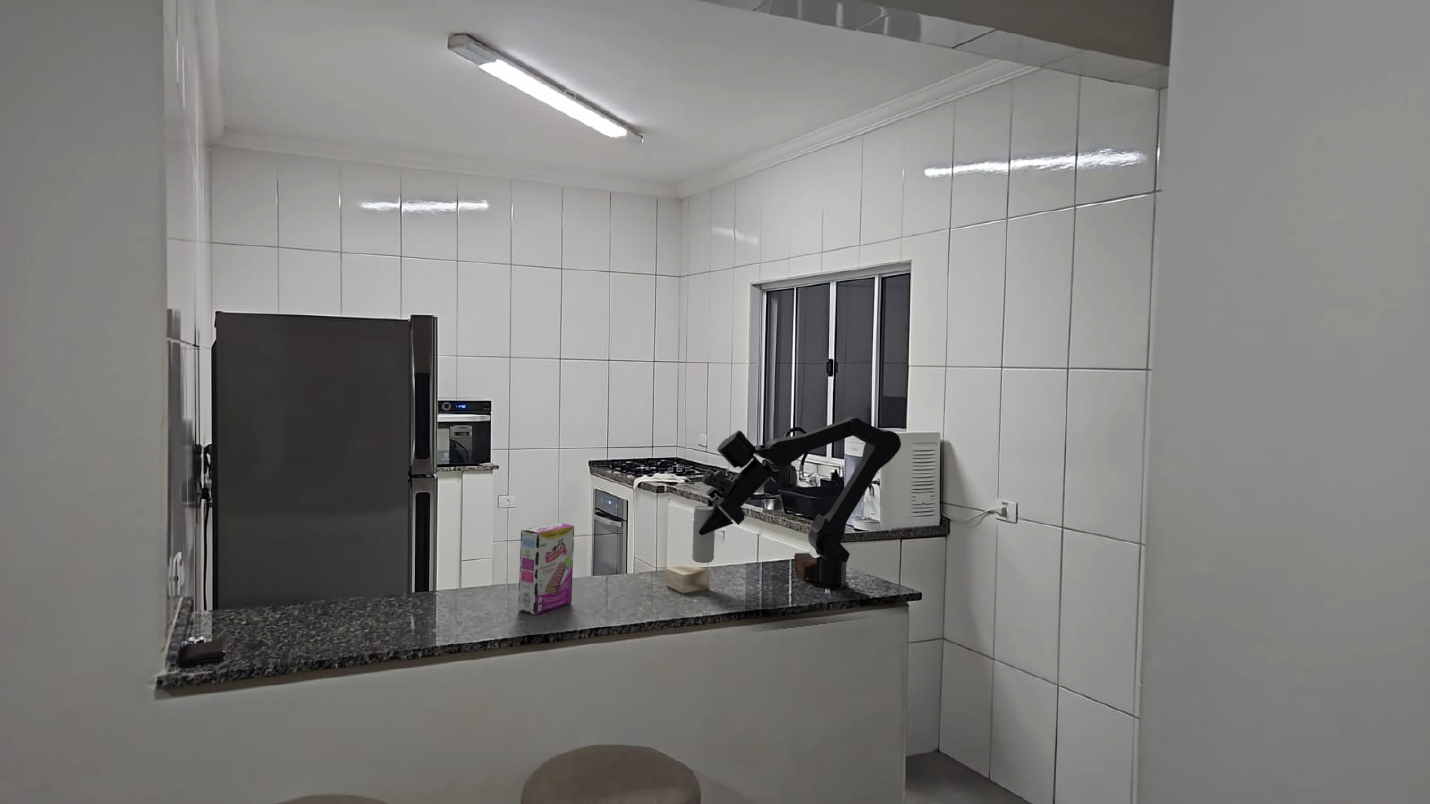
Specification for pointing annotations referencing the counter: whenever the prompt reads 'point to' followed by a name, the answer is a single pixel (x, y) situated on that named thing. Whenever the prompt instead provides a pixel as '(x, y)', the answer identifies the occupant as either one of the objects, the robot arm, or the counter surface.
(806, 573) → the brick
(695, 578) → the maple block
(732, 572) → the counter surface
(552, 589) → the candy bar box
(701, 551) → the beverage can
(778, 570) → the counter surface
